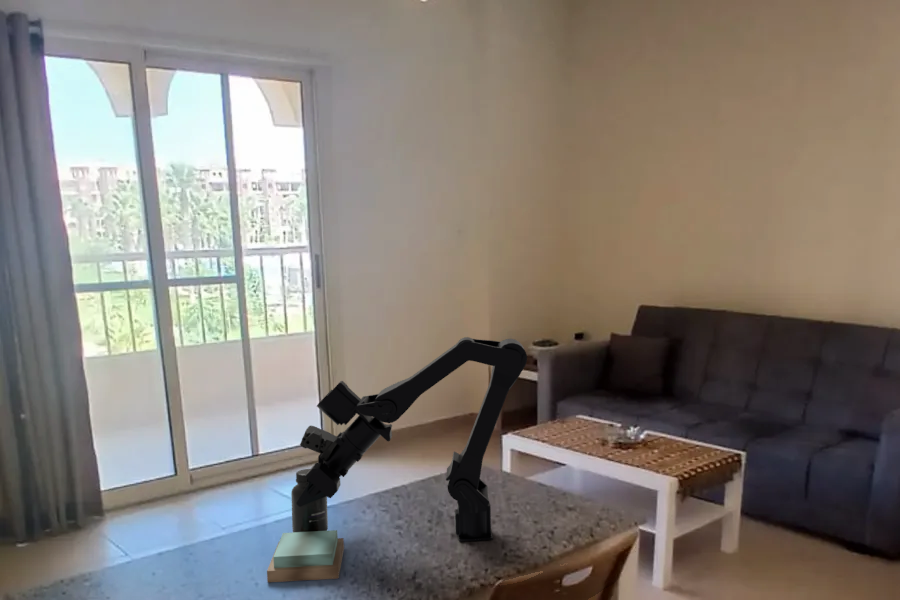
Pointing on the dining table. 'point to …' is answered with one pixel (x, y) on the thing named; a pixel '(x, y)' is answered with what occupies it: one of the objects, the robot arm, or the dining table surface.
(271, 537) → the dining table surface
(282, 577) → the tower base
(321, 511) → the supplement bottle
